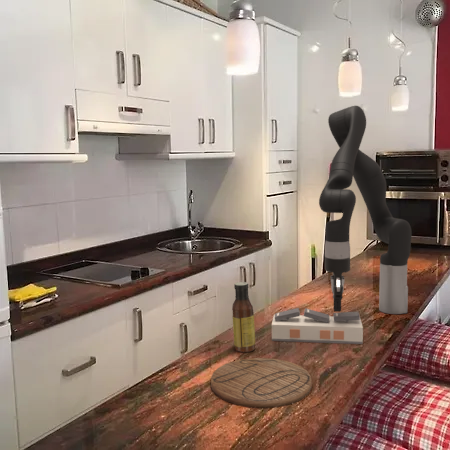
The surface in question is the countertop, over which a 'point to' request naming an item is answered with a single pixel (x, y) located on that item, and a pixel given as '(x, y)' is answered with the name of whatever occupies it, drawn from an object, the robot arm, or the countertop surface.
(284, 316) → the far rocker
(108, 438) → the countertop surface
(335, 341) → the switch console
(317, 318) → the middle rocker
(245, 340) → the sauce bottle
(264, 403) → the trivet
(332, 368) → the countertop surface
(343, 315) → the plate
